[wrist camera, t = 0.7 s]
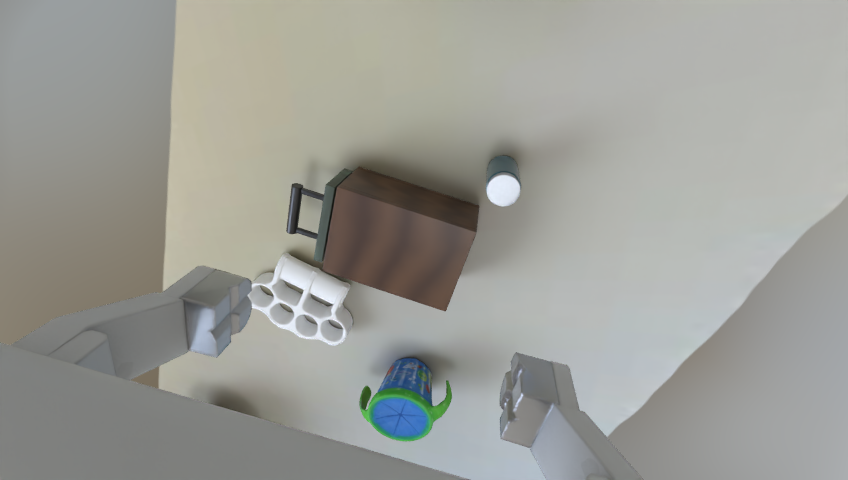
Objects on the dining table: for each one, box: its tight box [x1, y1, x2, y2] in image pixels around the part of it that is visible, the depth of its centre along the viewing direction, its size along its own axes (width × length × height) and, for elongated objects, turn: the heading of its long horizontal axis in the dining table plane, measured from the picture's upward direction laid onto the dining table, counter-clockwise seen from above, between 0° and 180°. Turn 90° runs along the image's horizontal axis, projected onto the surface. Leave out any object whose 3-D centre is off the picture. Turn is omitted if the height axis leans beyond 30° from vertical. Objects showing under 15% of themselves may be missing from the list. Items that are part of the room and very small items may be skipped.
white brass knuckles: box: [247, 253, 353, 345], centre depth 66 cm, size 3×18×15 cm
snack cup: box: [360, 358, 452, 441], centre depth 66 cm, size 16×11×10 cm
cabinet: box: [322, 167, 479, 311], centre depth 54 cm, size 18×13×9 cm
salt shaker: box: [486, 155, 521, 206], centre depth 48 cm, size 4×4×8 cm
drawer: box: [286, 169, 353, 262], centre depth 54 cm, size 21×11×7 cm, turn 74°
